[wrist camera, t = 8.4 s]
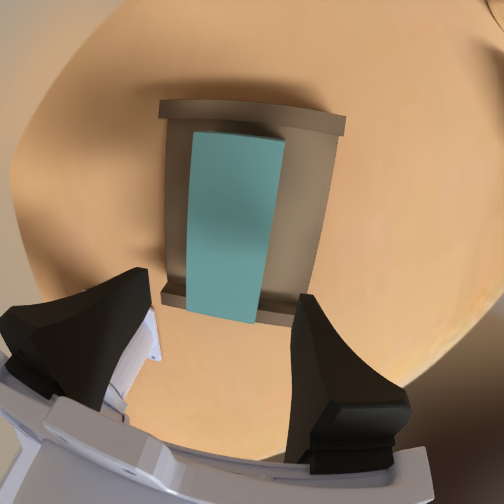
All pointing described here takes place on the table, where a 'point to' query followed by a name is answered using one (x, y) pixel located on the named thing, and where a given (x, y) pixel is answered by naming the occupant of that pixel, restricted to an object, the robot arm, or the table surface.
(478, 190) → the table surface
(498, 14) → the beer glass
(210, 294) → the teal rectangular block
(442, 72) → the table surface
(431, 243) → the table surface
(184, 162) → the display stand
